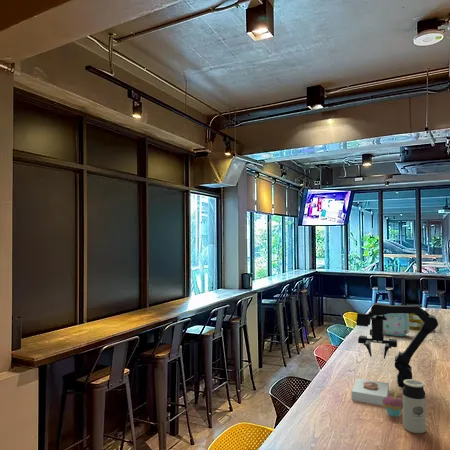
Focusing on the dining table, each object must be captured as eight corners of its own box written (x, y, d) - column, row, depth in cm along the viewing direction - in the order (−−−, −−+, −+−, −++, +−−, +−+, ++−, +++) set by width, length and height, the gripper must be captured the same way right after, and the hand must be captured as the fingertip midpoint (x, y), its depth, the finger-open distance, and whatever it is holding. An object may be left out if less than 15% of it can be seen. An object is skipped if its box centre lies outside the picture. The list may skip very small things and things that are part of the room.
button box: (389, 391, 189) (389, 383, 189) (386, 406, 173) (386, 397, 173) (356, 386, 196) (356, 378, 196) (351, 399, 180) (351, 391, 180)
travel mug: (401, 422, 158) (401, 377, 158) (423, 425, 156) (422, 380, 156) (404, 432, 150) (404, 385, 151) (427, 435, 148) (427, 387, 149)
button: (378, 391, 186) (378, 383, 186) (377, 396, 180) (377, 387, 180) (364, 389, 189) (364, 380, 189) (362, 394, 183) (362, 385, 183)
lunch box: (369, 333, 301) (369, 305, 302) (373, 330, 310) (372, 303, 310) (407, 338, 286) (407, 309, 287) (409, 335, 295) (409, 306, 295)
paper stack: (428, 333, 299) (428, 312, 300) (395, 328, 316) (395, 307, 316) (437, 328, 317) (437, 307, 318) (405, 323, 334) (405, 303, 335)
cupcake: (409, 417, 163) (408, 388, 163) (391, 420, 160) (391, 390, 160) (394, 408, 171) (394, 380, 171) (378, 411, 168) (377, 383, 169)
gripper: (397, 326, 207) (397, 356, 206) (360, 322, 215) (360, 351, 214) (396, 330, 197) (397, 362, 196) (357, 327, 205) (358, 357, 204)
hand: (377, 357), depth 203 cm, fingers open, 6 cm apart
